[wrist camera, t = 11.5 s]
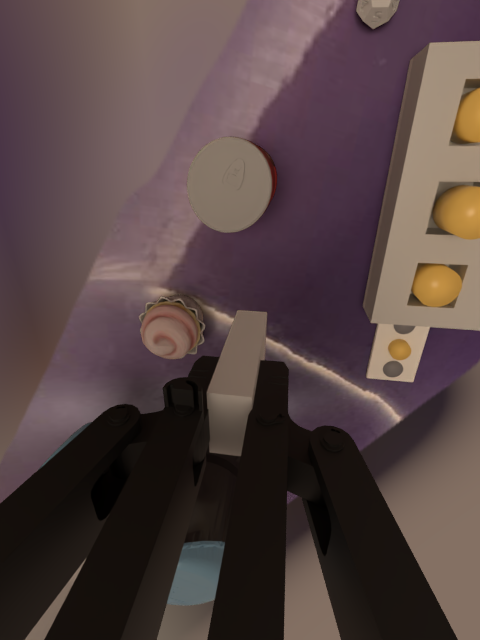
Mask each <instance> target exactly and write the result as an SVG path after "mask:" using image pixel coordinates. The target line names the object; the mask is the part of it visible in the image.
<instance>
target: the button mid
mask: <svg viewBox="0 0 480 640" xmlns="http://www.w3.org/2000/svg"><path fill="white" fill-rule="evenodd" d="M433 220H434V222H435V224H436V225H437V226H438V227H439V228H440V229H442V230H445V231H447V232H449V233H451V234H453V235H456V236H458V237H460V238H463V239H468V240H473V239H478V238H480V187H477V186H469V185H458V186H455V187H452V188H450V189H448V190H447V191H445V192H444V193H443V194H442V195H441V196H440V197H439V198H438V199H437V201H436V203H435V205H434V208H433Z"/></svg>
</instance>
